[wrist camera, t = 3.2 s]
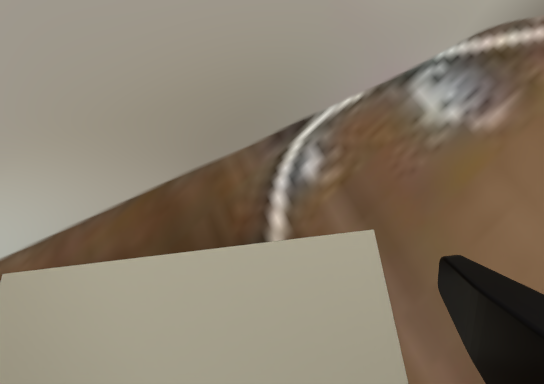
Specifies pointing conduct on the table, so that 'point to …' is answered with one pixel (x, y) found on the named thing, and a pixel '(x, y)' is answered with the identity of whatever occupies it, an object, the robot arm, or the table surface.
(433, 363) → the table surface
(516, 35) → the table surface
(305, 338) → the cream tall block
